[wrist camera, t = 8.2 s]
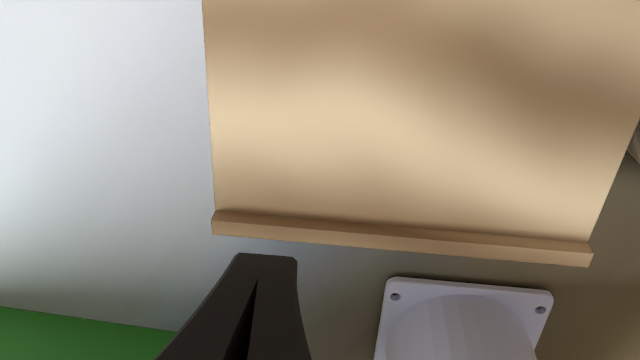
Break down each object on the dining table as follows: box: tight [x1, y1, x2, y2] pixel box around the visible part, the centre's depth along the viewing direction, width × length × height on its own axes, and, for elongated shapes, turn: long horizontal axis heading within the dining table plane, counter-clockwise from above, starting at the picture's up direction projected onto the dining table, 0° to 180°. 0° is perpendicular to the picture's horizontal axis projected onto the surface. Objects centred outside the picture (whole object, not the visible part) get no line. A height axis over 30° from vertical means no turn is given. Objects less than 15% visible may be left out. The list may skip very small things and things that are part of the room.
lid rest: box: [202, 0, 640, 267], centre depth 16 cm, size 13×13×5 cm
